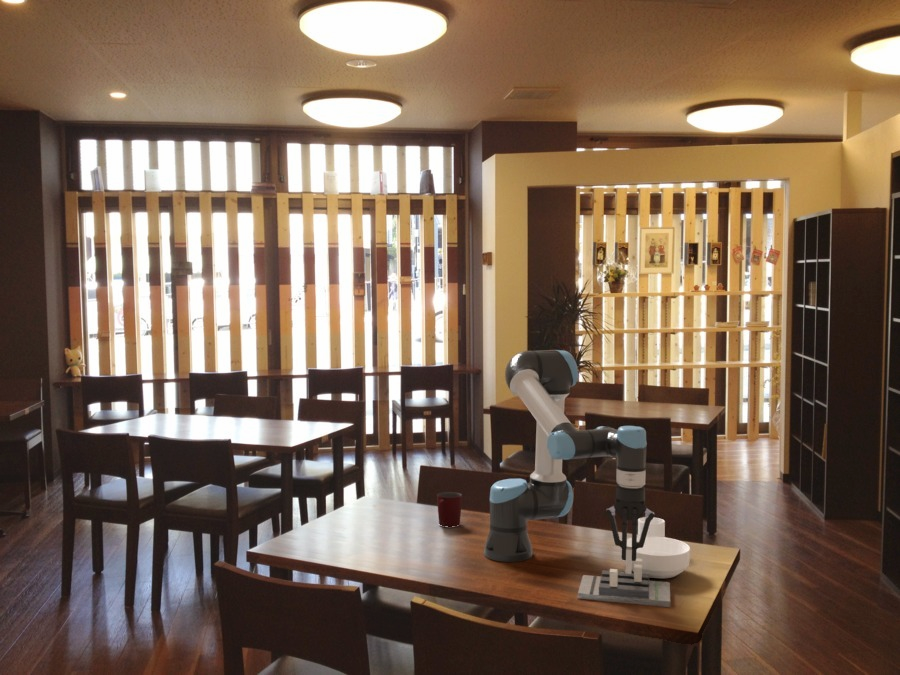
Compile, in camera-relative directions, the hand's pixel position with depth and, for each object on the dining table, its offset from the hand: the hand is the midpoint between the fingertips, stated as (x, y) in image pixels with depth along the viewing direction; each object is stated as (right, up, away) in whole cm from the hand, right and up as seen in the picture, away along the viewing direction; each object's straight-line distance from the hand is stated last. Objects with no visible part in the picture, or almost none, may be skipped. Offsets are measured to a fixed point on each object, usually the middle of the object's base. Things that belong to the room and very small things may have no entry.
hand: (628, 571), depth 214 cm
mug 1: (-49, -5, +72) cm, 87 cm away
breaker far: (+5, -3, +10) cm, 11 cm away
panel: (0, -7, +5) cm, 9 cm away
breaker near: (-4, -4, +1) cm, 5 cm away
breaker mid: (+4, -4, +4) cm, 7 cm away
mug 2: (+16, -6, +41) cm, 44 cm away
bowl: (+13, -7, +22) cm, 26 cm away
